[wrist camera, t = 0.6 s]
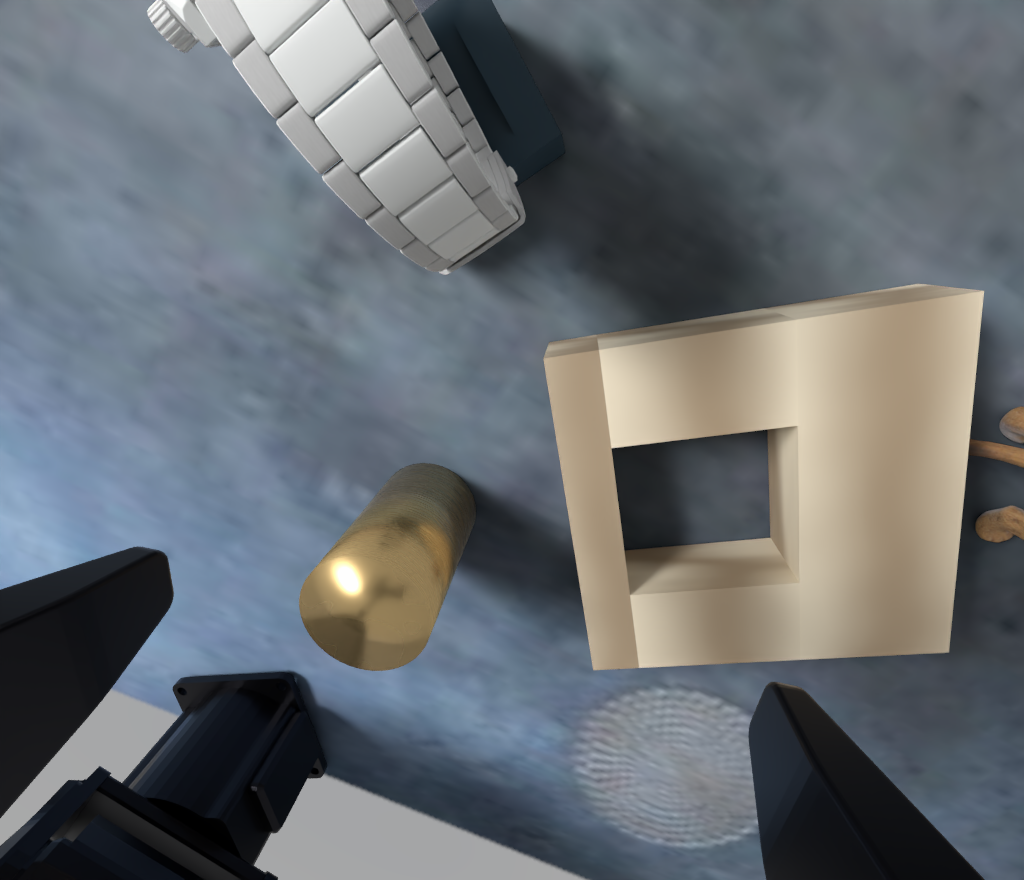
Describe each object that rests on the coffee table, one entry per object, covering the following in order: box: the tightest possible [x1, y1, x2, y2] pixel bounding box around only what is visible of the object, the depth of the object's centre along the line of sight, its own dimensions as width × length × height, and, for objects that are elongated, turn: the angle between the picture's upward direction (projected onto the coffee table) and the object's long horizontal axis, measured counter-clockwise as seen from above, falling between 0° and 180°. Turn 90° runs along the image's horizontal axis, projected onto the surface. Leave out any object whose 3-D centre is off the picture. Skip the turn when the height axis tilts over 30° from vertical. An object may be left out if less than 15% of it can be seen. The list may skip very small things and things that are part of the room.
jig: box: [544, 284, 984, 670], centre depth 19 cm, size 12×12×3 cm
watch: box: [147, 0, 565, 275], centre depth 12 cm, size 6×8×11 cm
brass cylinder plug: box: [299, 463, 476, 671], centre depth 19 cm, size 4×4×7 cm
